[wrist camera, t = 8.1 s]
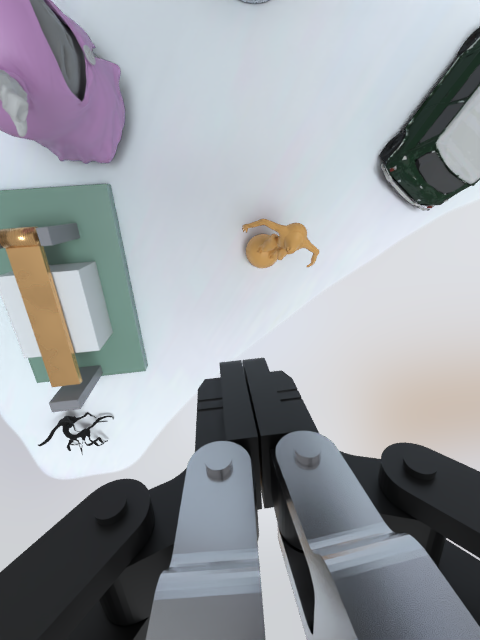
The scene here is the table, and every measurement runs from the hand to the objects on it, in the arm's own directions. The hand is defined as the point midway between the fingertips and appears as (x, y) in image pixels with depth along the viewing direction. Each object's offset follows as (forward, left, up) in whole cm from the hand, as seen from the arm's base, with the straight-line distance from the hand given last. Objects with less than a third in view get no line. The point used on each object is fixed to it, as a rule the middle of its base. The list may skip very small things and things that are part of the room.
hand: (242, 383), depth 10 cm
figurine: (-1, +6, -29) cm, 30 cm away
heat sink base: (+3, -18, -29) cm, 34 cm away
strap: (+3, -18, -23) cm, 29 cm away
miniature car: (-12, +28, -30) cm, 42 cm away
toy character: (-16, -12, -29) cm, 35 cm away
